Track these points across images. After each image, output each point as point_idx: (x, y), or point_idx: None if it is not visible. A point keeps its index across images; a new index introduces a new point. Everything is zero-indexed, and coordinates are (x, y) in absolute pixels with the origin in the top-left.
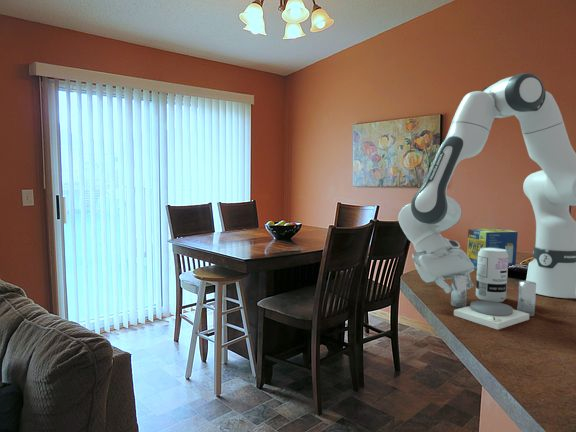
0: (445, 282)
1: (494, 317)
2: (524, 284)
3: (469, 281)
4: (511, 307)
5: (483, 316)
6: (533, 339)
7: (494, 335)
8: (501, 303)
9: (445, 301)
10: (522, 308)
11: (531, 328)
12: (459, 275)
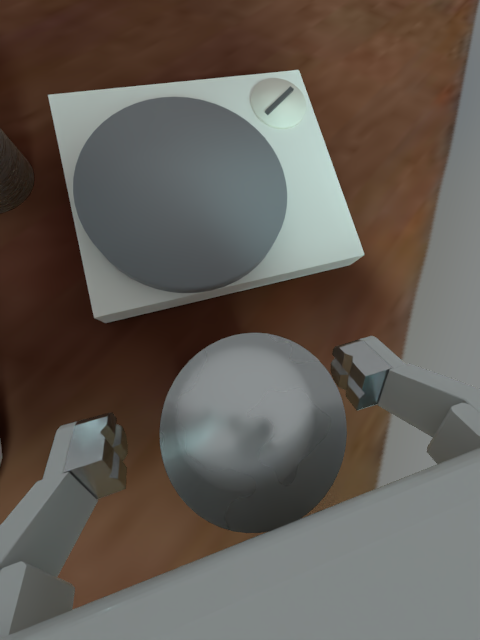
0: (430, 379)
1: (267, 109)
2: None
3: (78, 459)
4: (95, 133)
5: (295, 143)
6: (241, 2)
7: (338, 68)
8: (84, 200)
9: None
10: (10, 144)
11: (154, 58)
12: (247, 447)
